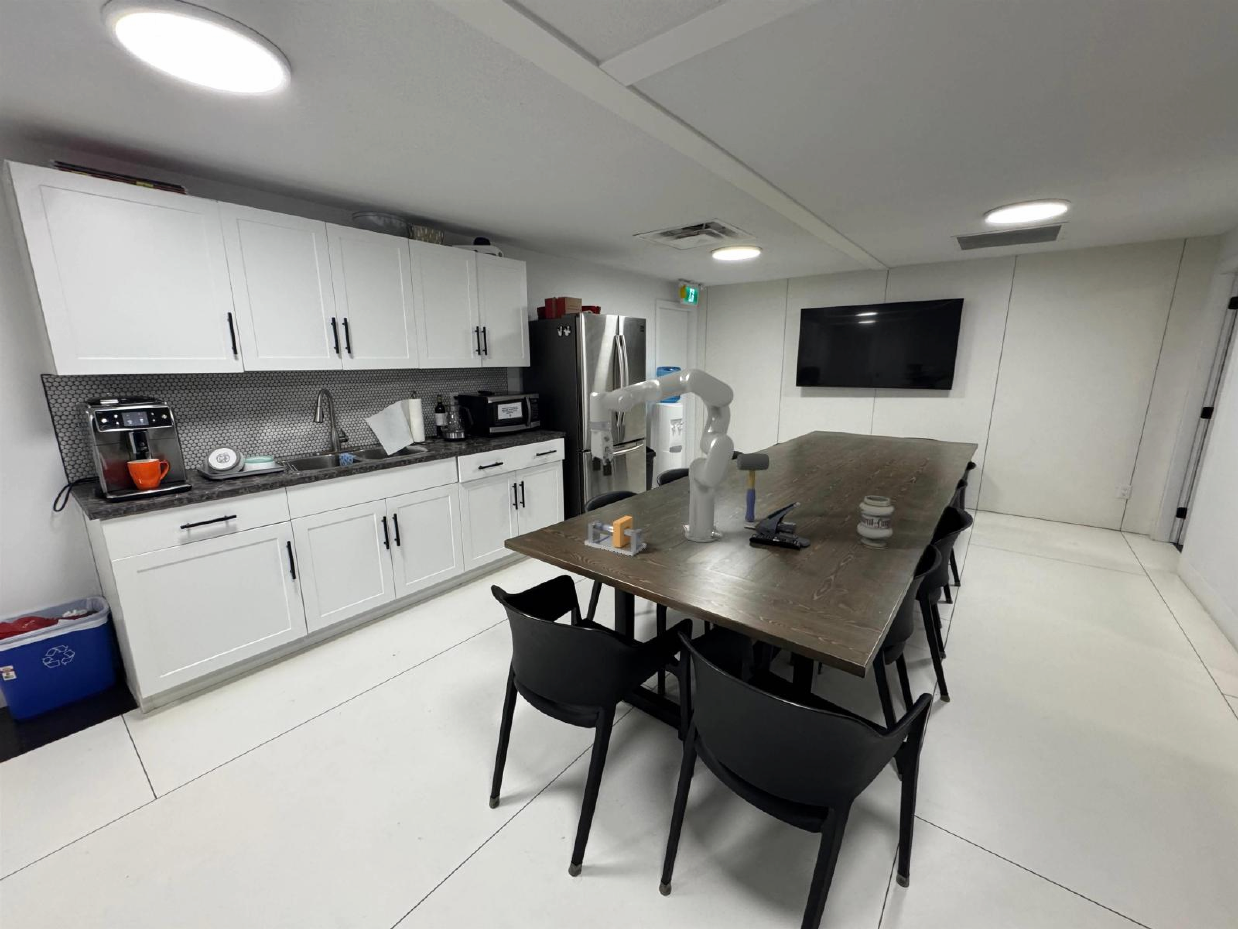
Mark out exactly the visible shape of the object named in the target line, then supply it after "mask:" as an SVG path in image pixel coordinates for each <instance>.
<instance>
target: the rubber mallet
mask: <svg viewBox="0 0 1238 929" xmlns="http://www.w3.org/2000/svg"><path fill="white" fill-rule="evenodd" d="M769 466H770V457H769V455H768V453H757V452H753V453H749V452H748V453H747V452H746V453H739V454H738V455H737V458H736V467H737V469H738V470H739V471H749V472H748V487H747V491H746V498H745V500H746V510H745V512H746V513H745V515H744V516H745V520H747V521H746V522H749V521H752V522H754V520H755V518H756V517H755V505H756V497H757V495H756V489H755V488H756V487H755V486H756V485H755V484H756V471H767V470H768V469H769V468H770V467H769Z"/></svg>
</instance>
